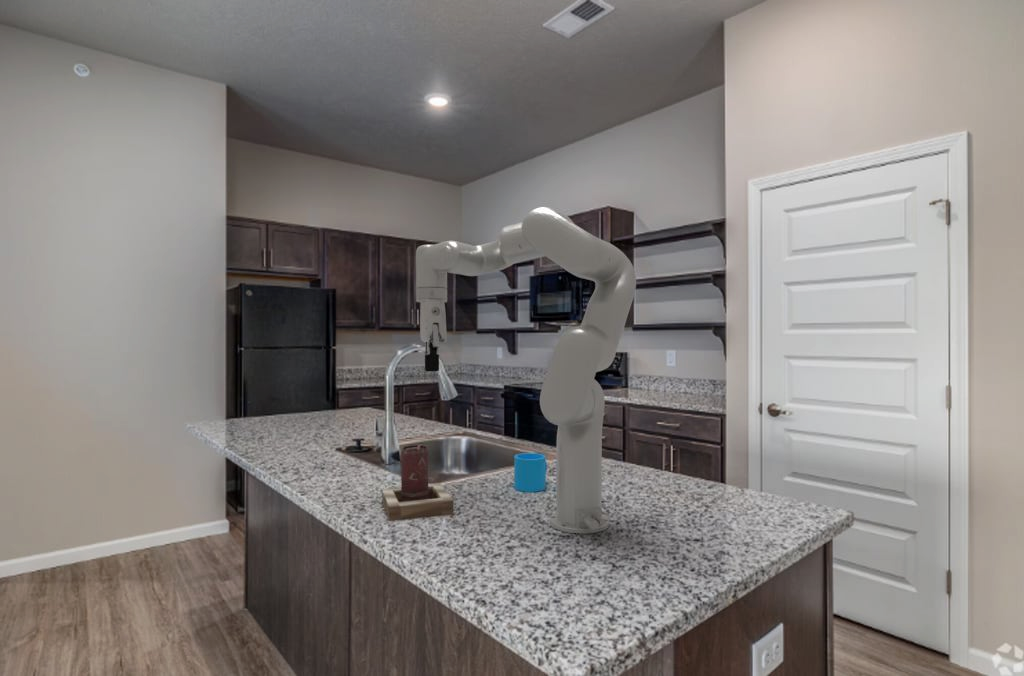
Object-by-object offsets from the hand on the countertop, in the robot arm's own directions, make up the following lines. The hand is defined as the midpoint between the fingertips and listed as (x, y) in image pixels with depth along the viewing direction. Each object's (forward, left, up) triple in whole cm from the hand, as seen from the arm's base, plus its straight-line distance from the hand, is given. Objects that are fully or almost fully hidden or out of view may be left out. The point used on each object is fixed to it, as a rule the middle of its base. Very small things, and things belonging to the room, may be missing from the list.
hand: (431, 370), depth 134 cm
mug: (+2, -28, -31) cm, 42 cm away
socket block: (-7, +5, -31) cm, 32 cm away
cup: (-6, +5, -31) cm, 32 cm away
